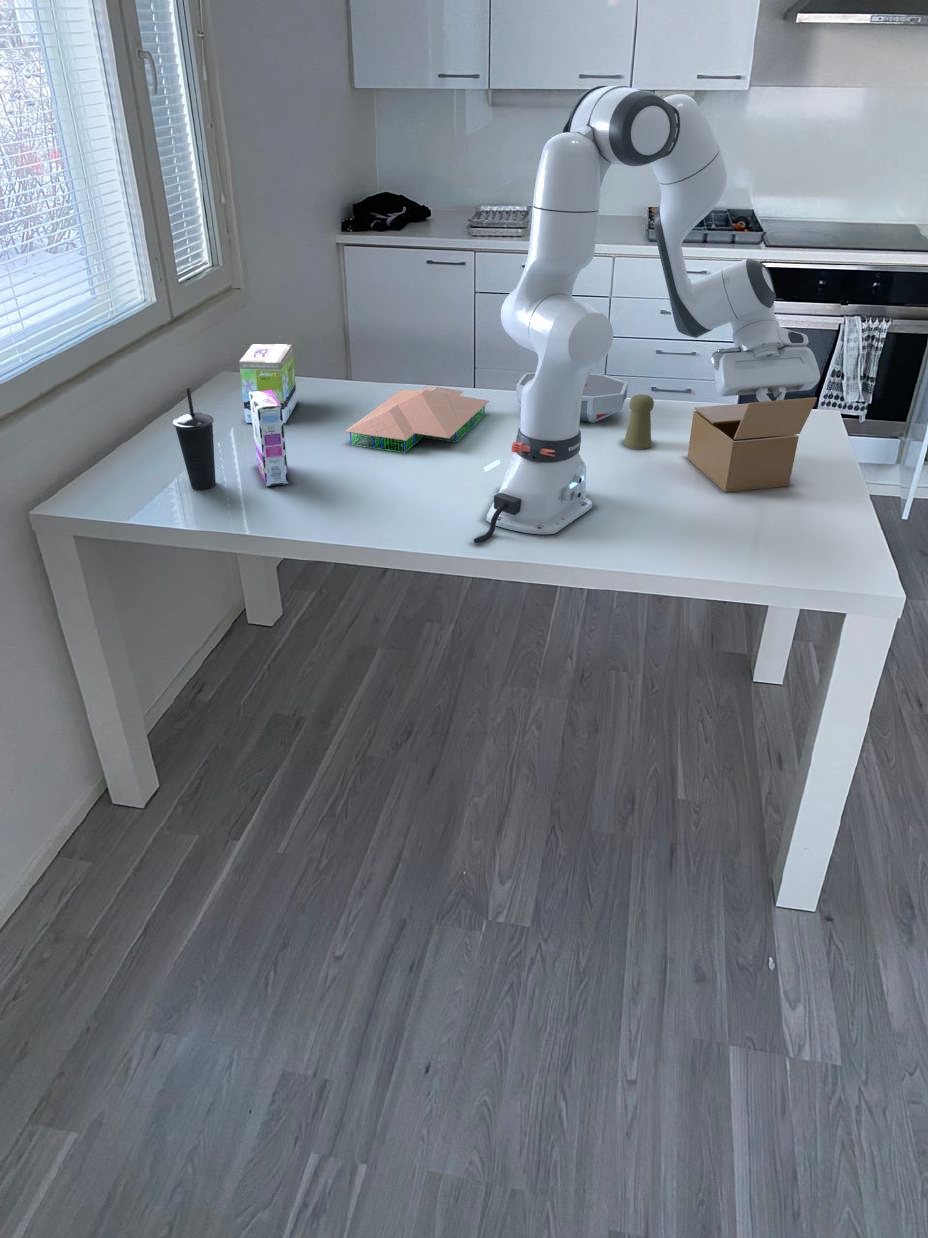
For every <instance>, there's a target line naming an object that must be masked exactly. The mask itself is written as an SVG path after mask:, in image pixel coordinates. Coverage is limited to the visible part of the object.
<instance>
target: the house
mask: <svg viewBox="0 0 928 1238" xmlns="http://www.w3.org/2000/svg"><path fill="white" fill-rule="evenodd" d="M463 393H464V391H463V390H458V389H452V388H447V387H441V386H426V387H424V388H423V389H400V390H399V391H398V392H396V393H395V394H394V395H392V396H390V397H389V398H388V399H386V400H385V401H384V402H382V403H381V404H379V405H378V406H376V408H374V409H373V410H371V411H370V412H369V413H367V414H366V415H365V416H364V417H362V418H361V419H359V420H358V421H357V422H355V423H354V424H352V425H351V426H349V428H347V429H346V430H345V431H344V432H345V433H349V439H350V445H351V446H354V445H356V446H358V447H363V448H367V446H366V444H365V443H366V441H367V445H369V440H372V446H369V448H372V449H378V450H383V451H384V450H386V451H390V452H399V453H401V451H400V446H403V454H404V453H406V452H408V451H409V450H410V449H411V448H412V447H413V446H414V445H416V444H417V443H418V442H419V441H420V440H421V439H423V438H426V439H434V440H436V438H438V441H439V440H440V441H443V439H445V441H446V442H451V438H452V437H454V436H455V439H454V440H452V442H453V443H457V442H458V441H459V440H460V439H461V438H462V437H463V436H464V435H466V433H468V431H469V428H473V427H474V426H475V425H476V424H477V423H478V422H479V421H481V419H482V418H483V417H484V416H486V409H485V408H486V405H487V404H489V402H490V400H488V399H487V400H486V399H481V398H475V397H469V396H463V395H462V394H463ZM478 416H479V418H478ZM459 434H460V436H459ZM362 437H364V438H365V437H366V438H365V440H366V441H365V440H363V445H362V444H360V445H359V444H356V442H359V440H362ZM368 438H370V439H368ZM441 438H442V439H441ZM393 441H394V442H393ZM396 442H397V443H396ZM399 442H401V444H400V443H399ZM389 444H391V445H397V446H398V447H397V448H398V449H397V450H398V451H397V450H396V448H394V450H393V449H390V447H389ZM386 446H387V448H388V449H387V448H386Z"/></svg>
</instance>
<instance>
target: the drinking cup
mask: <svg viewBox="0 0 928 1238" xmlns="http://www.w3.org/2000/svg"><path fill="white" fill-rule="evenodd" d="M186 396H187V402H188V407H189V412H187V413H184V414H182V415H180V416H177V417H176V418H174V419H173V420H172V424H173V427H174V428H175V431H176V434H177V438H178V442H179V447H180V449H181V453H182V457H183V460H184V464H185V469H186V472H187V475H188V479H189V483H190V487H191V488H192V489H194V490H198V491H205V490H209V489H213V488H214V487H215V486H216V483H217V482H216V464H215V463H216V462H215V461H216V460H215V445H214V443H215V442H214V425H213V423H214V421H215V420H214V419H215V418H214V417H213V416H212V415H210V414H207V413H202V412H197V411H196V412H194V405H193V399H192V393H191V388H190V387H186Z"/></svg>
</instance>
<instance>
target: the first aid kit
mask: <svg viewBox="0 0 928 1238" xmlns="http://www.w3.org/2000/svg"><path fill="white" fill-rule="evenodd" d="M535 373H536V371H535V372H526V373H525V372H524V374H523V375H522V376H521V378H520V379H519V381H518V382H517V383H516V387H515V388H516V389H515V390H516V393H515V401H517V403H519V404H521V393H522V389H523V387H524V386H525V384H526V383H527V382H529V381H530V380H532V379H533V378H534V376H535ZM628 386H629V382H628V381H625V380H622V379H620V378H616V377H613V376H610V375H607V374H602V373H591V372H590V374H589V376H588V378H587V380H586V383H585V386H584V389H583V394H582V401H581V411H580V422H588V423H589V424H590V423H591V424H592V423H593V424H594V423H596V422H599V421H601V420H604V419H605V418H608V417H609V416H611V415H614V414H616V413H619V412H620V411H622V410H623V405H624V403H625V401H626V399H627V396H628Z"/></svg>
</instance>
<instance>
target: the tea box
mask: <svg viewBox="0 0 928 1238" xmlns="http://www.w3.org/2000/svg"><path fill="white" fill-rule="evenodd" d="M294 361H295V360H294V349H293V345H292V344H282V343H281V344H279V343H276V344H275V343H273V344H271V343H267V344H266V343H253V344H251V345H250V347H249V349H247V350H246V352H245V353H244V355H243V356H242V357H241V358H240V360H239V361H238V363H239V372H240V381H241V391H242V401H243V410H244V420H245V423H248V424H252V415H251V405H250V397H249V392H255V391H264V390H272V392H273V393H274V395H275V397H276V398H277V400H278V402H279V403H280V405H281V406H282V417H283V424H286V423H287V421H288V420H289V418H290V416H291V415H292V412H293V410H294V409H295V408H296V405H297V403H298V400H297V399H298V397H297V386H296V385H297V384H296V373H295V371H296V370H295V362H294Z"/></svg>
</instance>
